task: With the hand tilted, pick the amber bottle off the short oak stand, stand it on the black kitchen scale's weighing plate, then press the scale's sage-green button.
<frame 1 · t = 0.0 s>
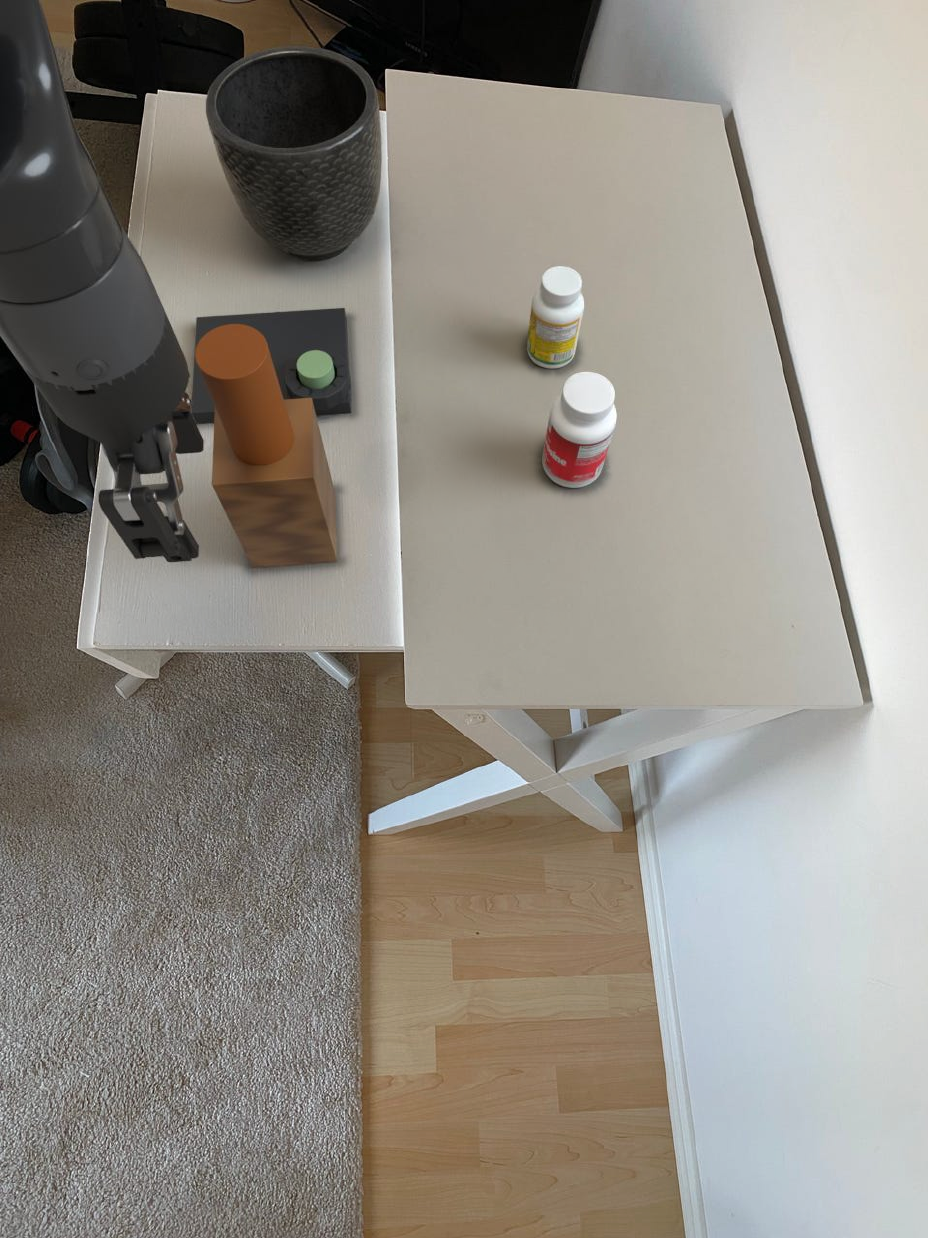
hand: (186, 500, 54), 20 cm above the table, tool pointing down, fingers open, 8 cm apart
pill bottle: (571, 465, 80), on the table
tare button: (315, 369, 79), point 4 cm above the table, slide at 0.1 cm
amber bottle: (263, 439, 64), point 14 cm above the table, touching oak stand
planter: (317, 235, 93), on the table
scale: (274, 369, 84), on the table
supplement bottle: (550, 352, 86), on the table
oak stand: (294, 528, 76), on the table
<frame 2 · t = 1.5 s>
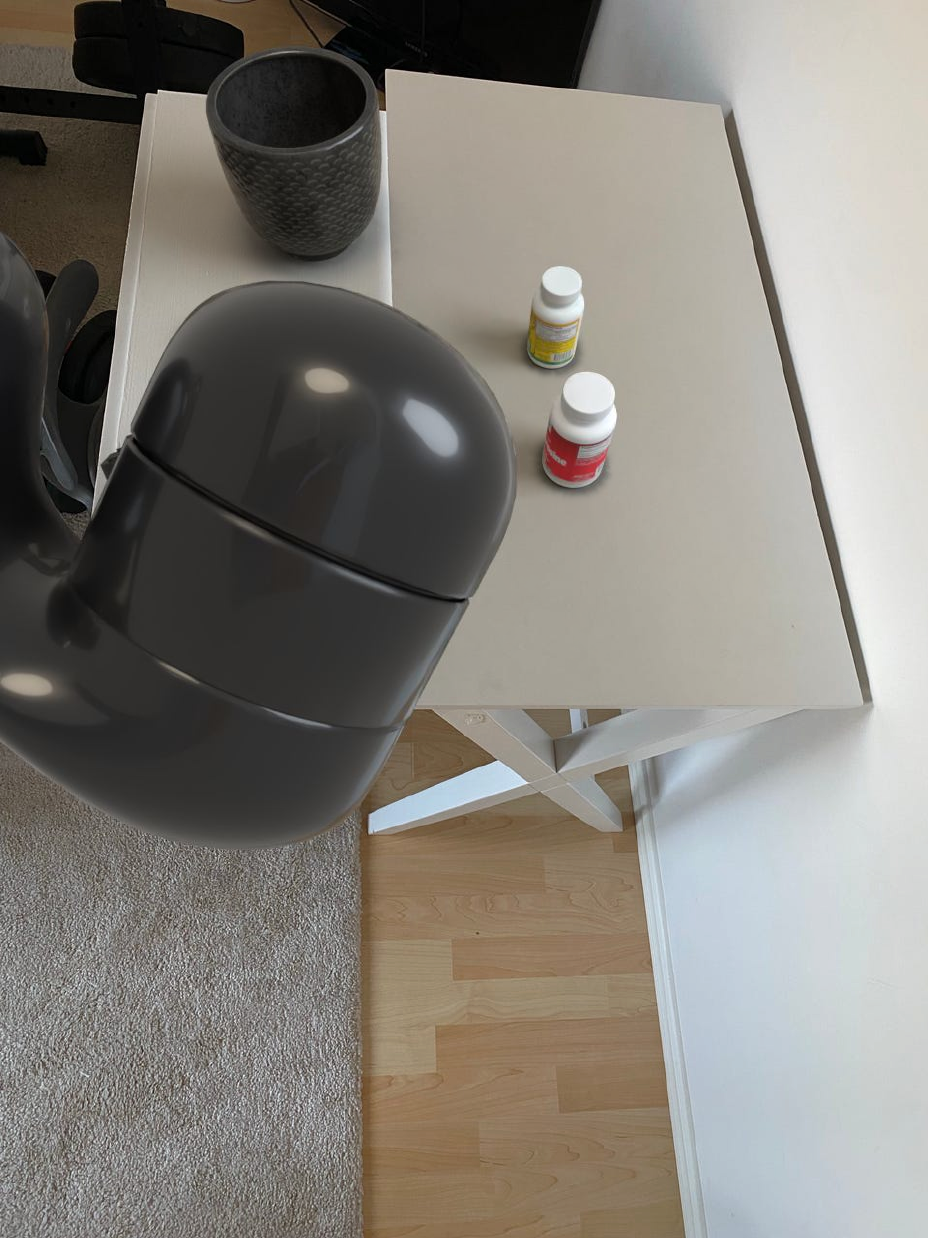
hand: (256, 427, 45), 29 cm above the table, tool tilted 45°, fingers open, 8 cm apart
nothing on the table moved.
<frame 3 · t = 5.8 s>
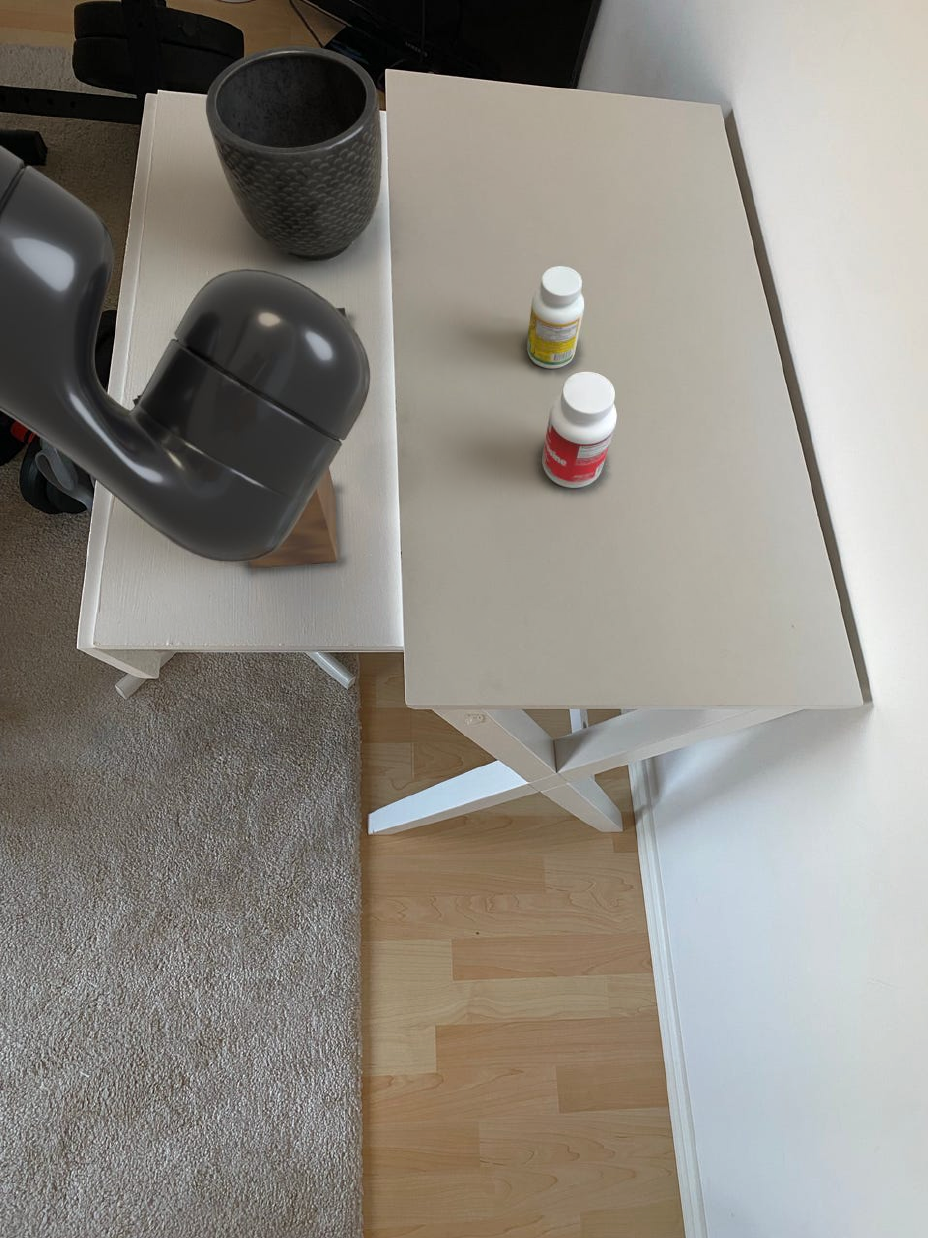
hand: (243, 383, 60), 19 cm above the table, tool tilted 45°, fingers closed on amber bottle, 5 cm apart
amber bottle: (263, 439, 64), point 14 cm above the table, touching gripper, oak stand
everything else where it was.
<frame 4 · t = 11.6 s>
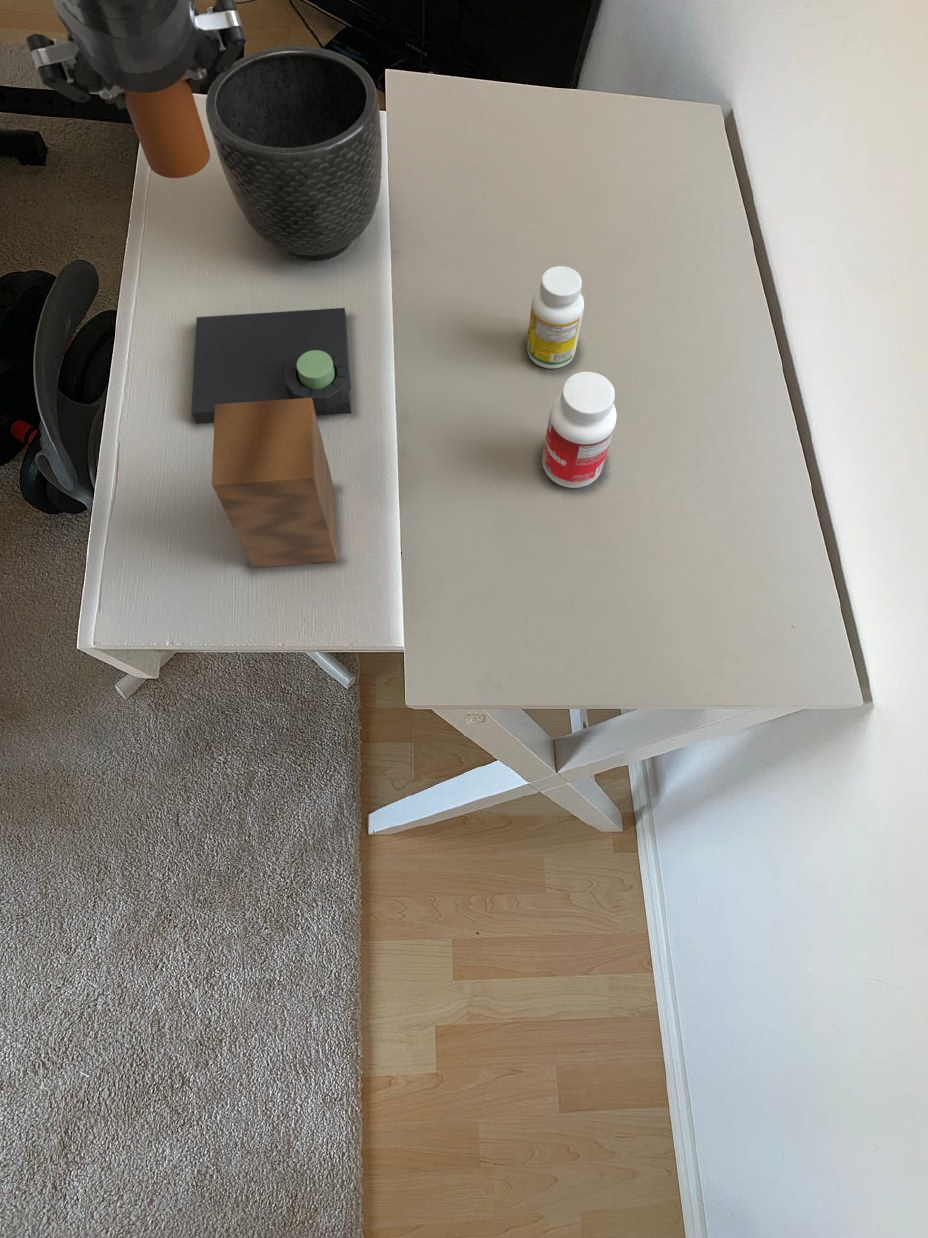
hand: (154, 85, 60), 28 cm above the table, tool tilted 45°, fingers closed on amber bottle, 5 cm apart
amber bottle: (179, 157, 64), point 23 cm above the table, touching gripper
everything else where it was.
when the fingers open (6 cm above the table, at t = 17.8 s): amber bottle stays where it is, resting on scale.
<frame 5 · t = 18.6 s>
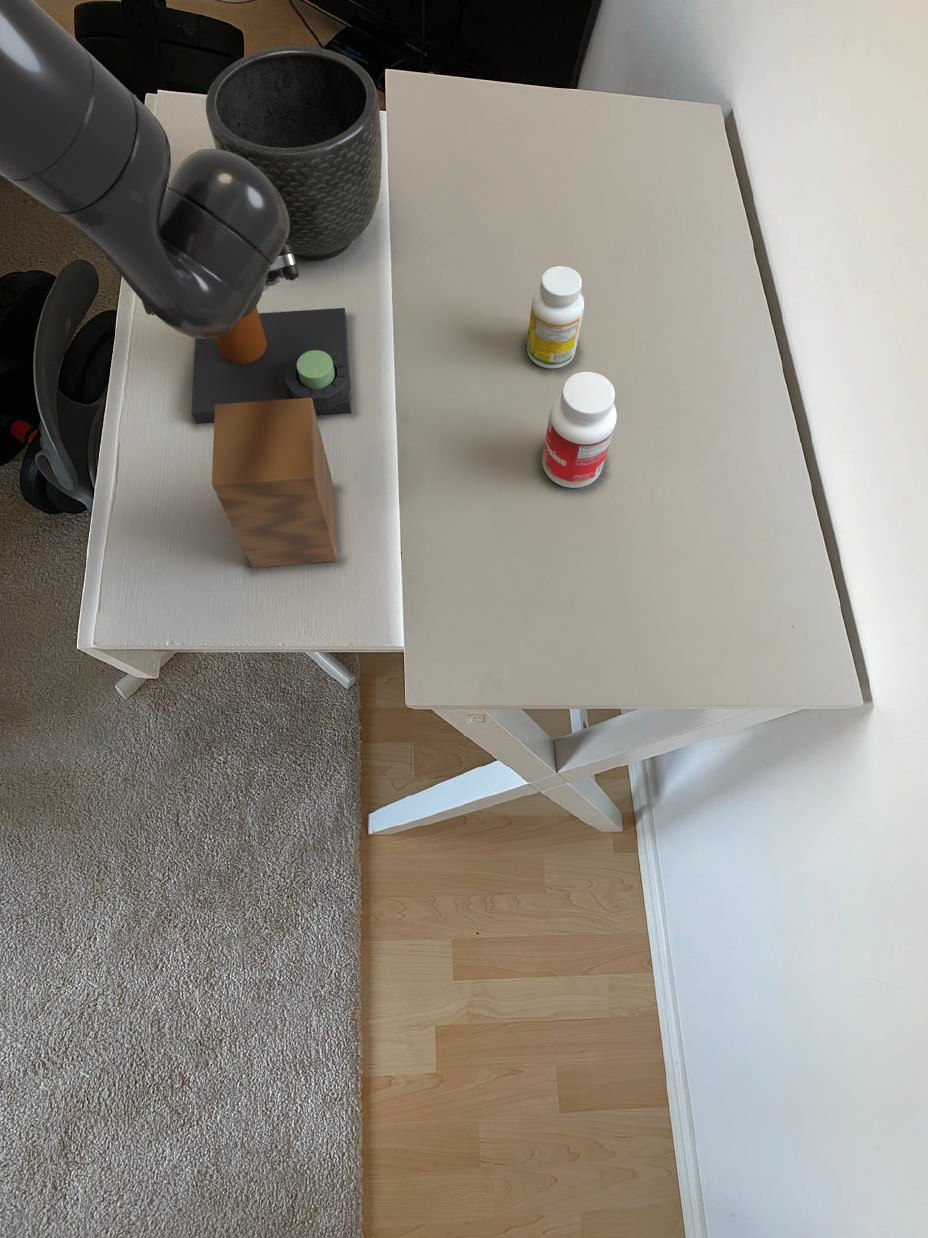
hand: (221, 285, 78), 9 cm above the table, tool tilted 45°, fingers open, 8 cm apart
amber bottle: (243, 345, 84), point 2 cm above the table, touching scale
everything else where it was.
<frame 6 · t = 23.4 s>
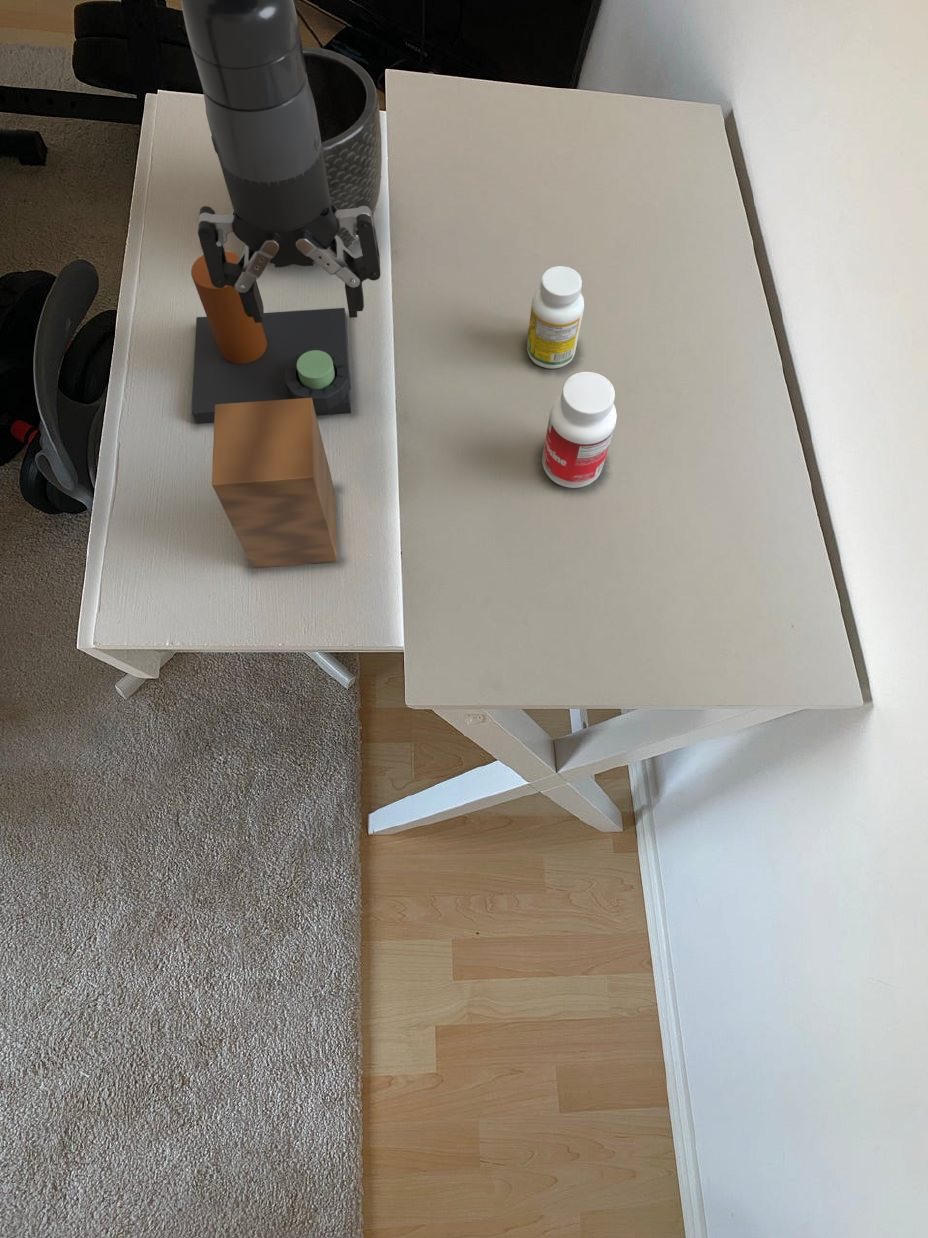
hand: (306, 313, 72), 12 cm above the table, tool pointing down, fingers open, 8 cm apart
nothing on the table moved.
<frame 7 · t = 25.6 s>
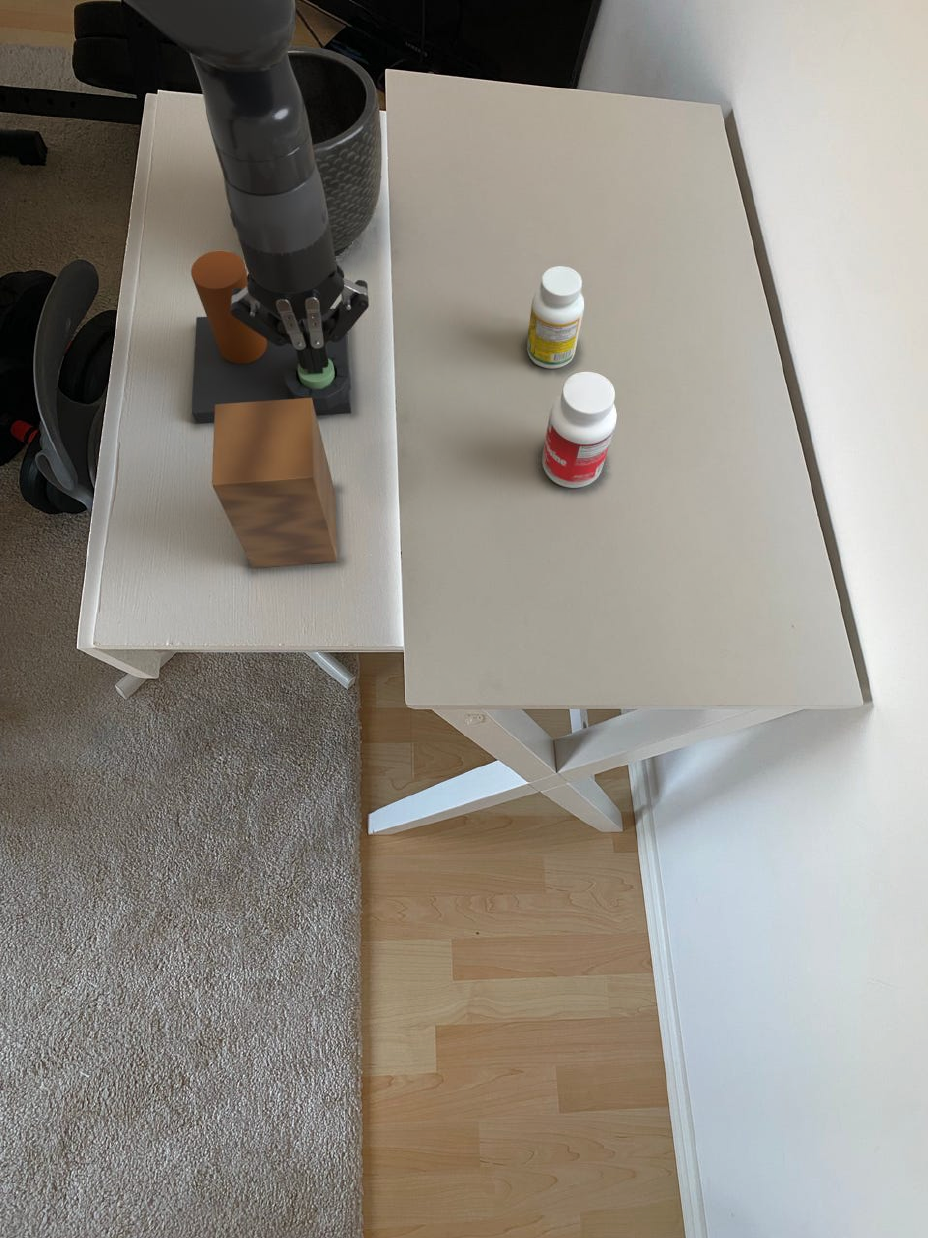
hand: (315, 366, 79), 4 cm above the table, tool pointing down, fingers closed
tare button: (316, 373, 80), point 3 cm above the table, slide at -0.5 cm, touching gripper
everything else where it was.
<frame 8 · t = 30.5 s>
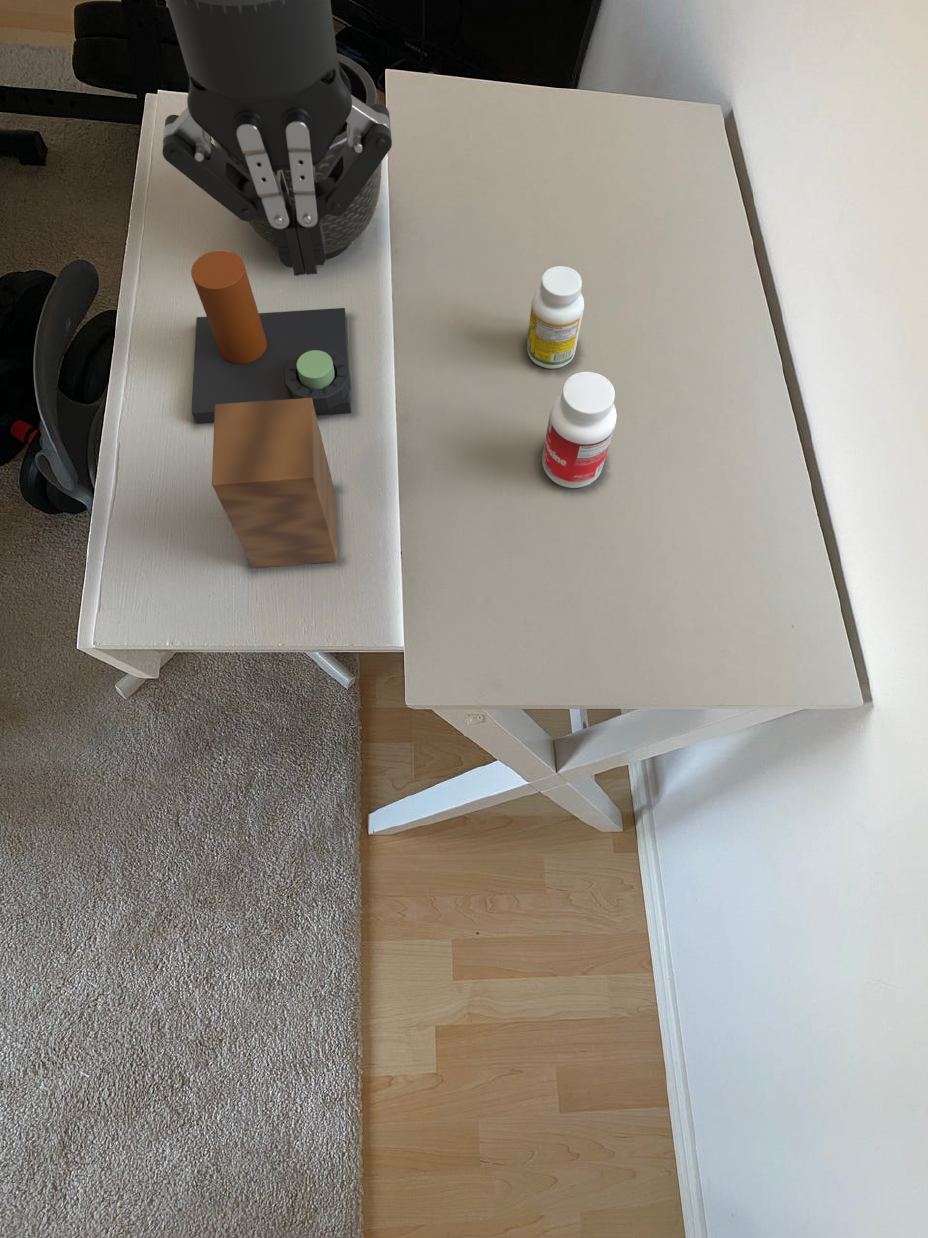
hand: (305, 265, 51), 29 cm above the table, tool pointing down, fingers closed
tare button: (315, 369, 79), point 4 cm above the table, slide at 0.1 cm
everything else where it was.
at the end: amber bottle inside the target area on the scale (1.5 cm from its centre), point 1.7 cm above the scale's base; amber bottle tilted 0°; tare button pushed in 1.1 cm at the most during the clip, back to where it started at the end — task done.
